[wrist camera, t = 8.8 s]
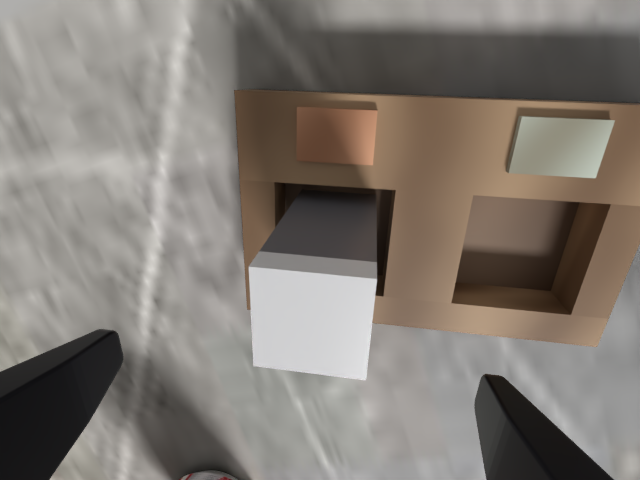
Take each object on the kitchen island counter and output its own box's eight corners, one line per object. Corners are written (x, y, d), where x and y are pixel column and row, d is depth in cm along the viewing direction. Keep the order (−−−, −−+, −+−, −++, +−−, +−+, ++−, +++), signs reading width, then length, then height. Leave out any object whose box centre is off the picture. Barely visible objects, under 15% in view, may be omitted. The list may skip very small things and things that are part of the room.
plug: (376, 194, 17) (377, 279, 10) (369, 262, 18) (366, 380, 11) (301, 189, 17) (248, 266, 10) (300, 255, 19) (253, 366, 11)
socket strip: (645, 103, 15) (703, 108, 12) (569, 314, 18) (600, 351, 16) (254, 89, 16) (231, 90, 14) (261, 284, 20) (245, 312, 18)
